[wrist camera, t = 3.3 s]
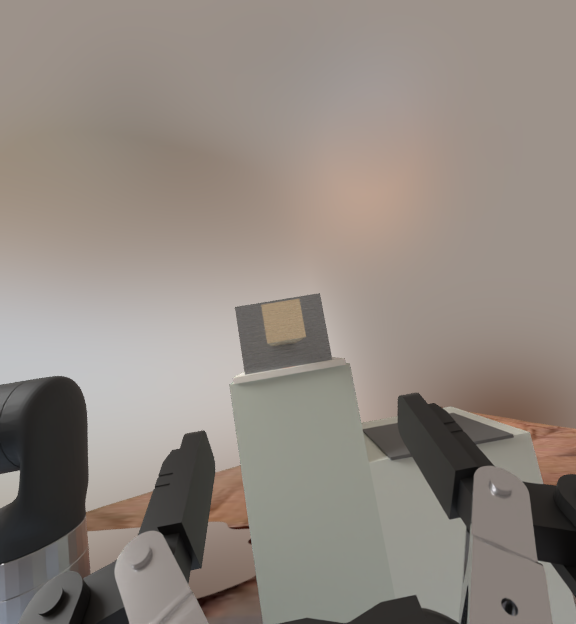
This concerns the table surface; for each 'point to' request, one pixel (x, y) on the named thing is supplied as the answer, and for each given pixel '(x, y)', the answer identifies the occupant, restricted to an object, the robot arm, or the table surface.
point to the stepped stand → (353, 500)
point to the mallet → (282, 333)
